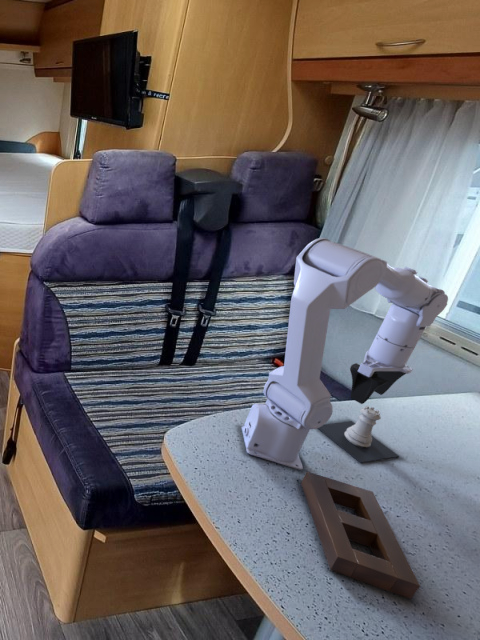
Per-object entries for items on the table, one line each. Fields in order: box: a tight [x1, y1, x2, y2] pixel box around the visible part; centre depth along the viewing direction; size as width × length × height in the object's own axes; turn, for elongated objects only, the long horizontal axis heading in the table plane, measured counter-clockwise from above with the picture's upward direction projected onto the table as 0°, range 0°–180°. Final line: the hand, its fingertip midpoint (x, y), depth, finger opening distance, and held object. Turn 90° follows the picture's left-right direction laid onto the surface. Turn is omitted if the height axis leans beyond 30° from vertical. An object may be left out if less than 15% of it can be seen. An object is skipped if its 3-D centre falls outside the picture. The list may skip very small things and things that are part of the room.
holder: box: [300, 471, 421, 600], centre depth 75 cm, size 10×17×3 cm, turn 158°
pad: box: [317, 420, 400, 464], centre depth 96 cm, size 10×10×1 cm
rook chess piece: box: [344, 405, 382, 447], centre depth 95 cm, size 4×4×8 cm
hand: (366, 396), depth 94 cm, fingers open, 7 cm apart
